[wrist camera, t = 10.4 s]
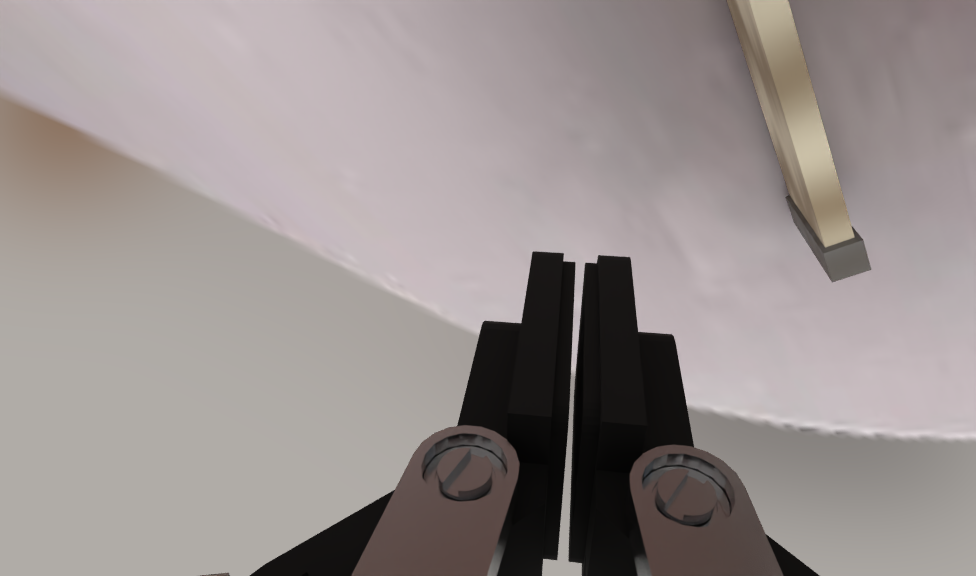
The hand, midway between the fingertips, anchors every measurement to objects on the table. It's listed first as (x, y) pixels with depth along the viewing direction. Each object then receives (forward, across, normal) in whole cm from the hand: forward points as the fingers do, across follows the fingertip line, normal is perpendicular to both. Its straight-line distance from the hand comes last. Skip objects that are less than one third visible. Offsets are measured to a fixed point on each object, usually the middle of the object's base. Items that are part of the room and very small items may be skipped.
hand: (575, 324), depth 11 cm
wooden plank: (+22, -7, -1) cm, 24 cm away
